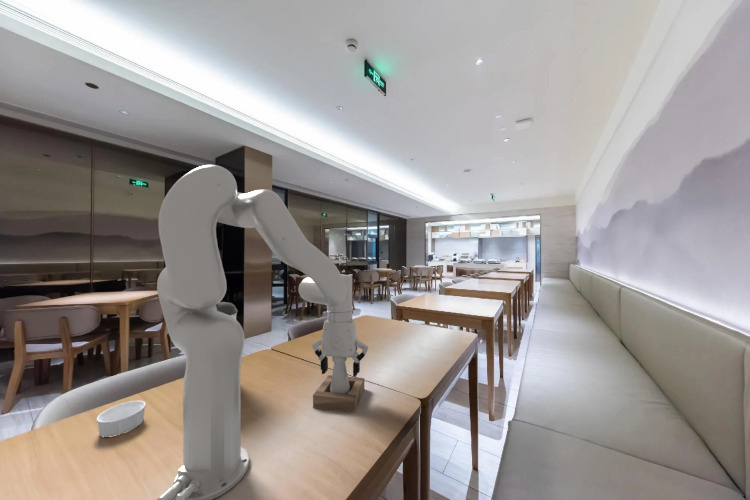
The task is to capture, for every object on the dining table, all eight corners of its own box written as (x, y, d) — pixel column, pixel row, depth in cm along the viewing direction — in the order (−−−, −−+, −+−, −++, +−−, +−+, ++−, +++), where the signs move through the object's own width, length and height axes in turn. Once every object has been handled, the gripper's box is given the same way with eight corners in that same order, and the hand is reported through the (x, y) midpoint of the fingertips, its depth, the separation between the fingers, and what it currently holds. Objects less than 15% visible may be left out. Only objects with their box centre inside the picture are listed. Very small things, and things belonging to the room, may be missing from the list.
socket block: (354, 412, 70) (354, 399, 70) (313, 407, 72) (312, 395, 73) (364, 389, 82) (364, 378, 82) (328, 385, 84) (328, 375, 84)
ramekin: (151, 423, 67) (151, 406, 67) (102, 445, 59) (102, 426, 59) (138, 412, 71) (138, 396, 71) (91, 431, 64) (91, 414, 64)
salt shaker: (351, 391, 80) (351, 349, 80) (347, 402, 74) (347, 357, 74) (333, 390, 80) (332, 348, 80) (327, 401, 75) (327, 356, 74)
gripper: (307, 318, 75) (307, 377, 75) (365, 320, 72) (365, 382, 72) (317, 312, 83) (318, 365, 83) (370, 314, 79) (371, 370, 79)
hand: (340, 373), depth 77 cm, fingers open, 9 cm apart
